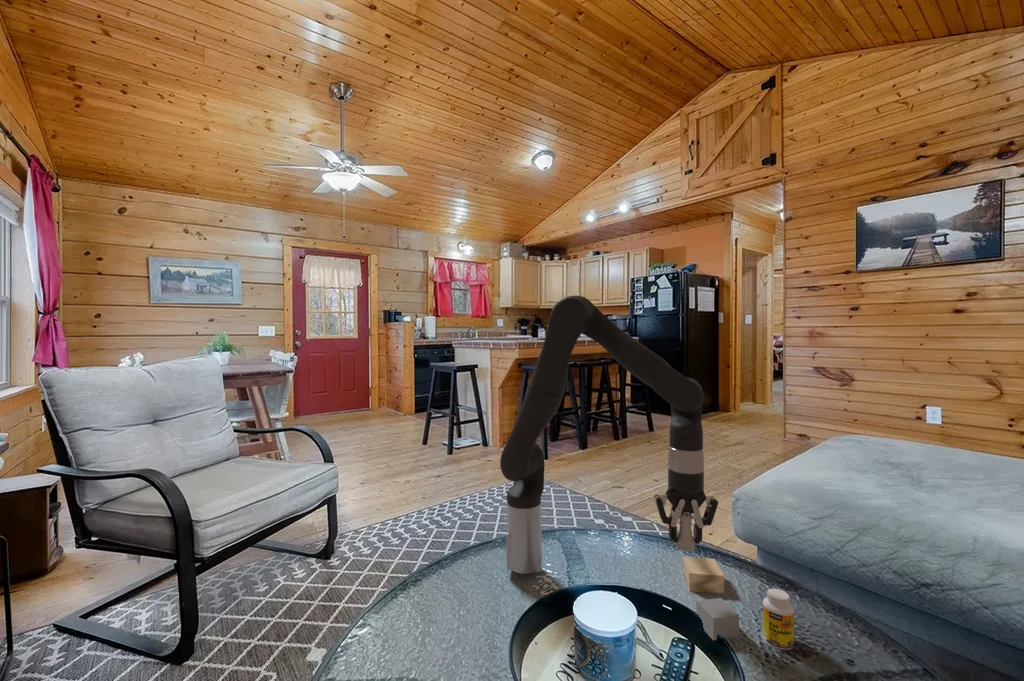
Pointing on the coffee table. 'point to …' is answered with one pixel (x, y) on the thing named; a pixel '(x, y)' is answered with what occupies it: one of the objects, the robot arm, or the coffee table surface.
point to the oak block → (703, 575)
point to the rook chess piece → (685, 533)
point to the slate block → (718, 618)
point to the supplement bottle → (778, 620)
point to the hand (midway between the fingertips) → (685, 541)
